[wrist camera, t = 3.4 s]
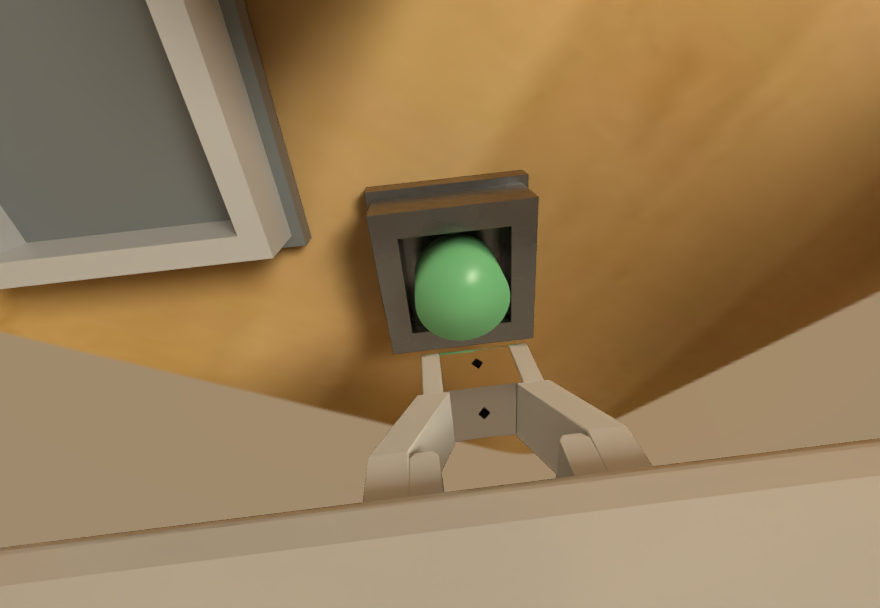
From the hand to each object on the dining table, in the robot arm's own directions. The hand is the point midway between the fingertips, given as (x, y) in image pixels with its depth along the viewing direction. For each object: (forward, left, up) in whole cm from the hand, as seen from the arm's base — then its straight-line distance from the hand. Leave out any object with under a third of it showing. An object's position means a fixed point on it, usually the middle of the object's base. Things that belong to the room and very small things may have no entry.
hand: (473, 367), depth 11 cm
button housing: (0, 0, -9) cm, 9 cm away
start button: (0, 0, -6) cm, 6 cm away
